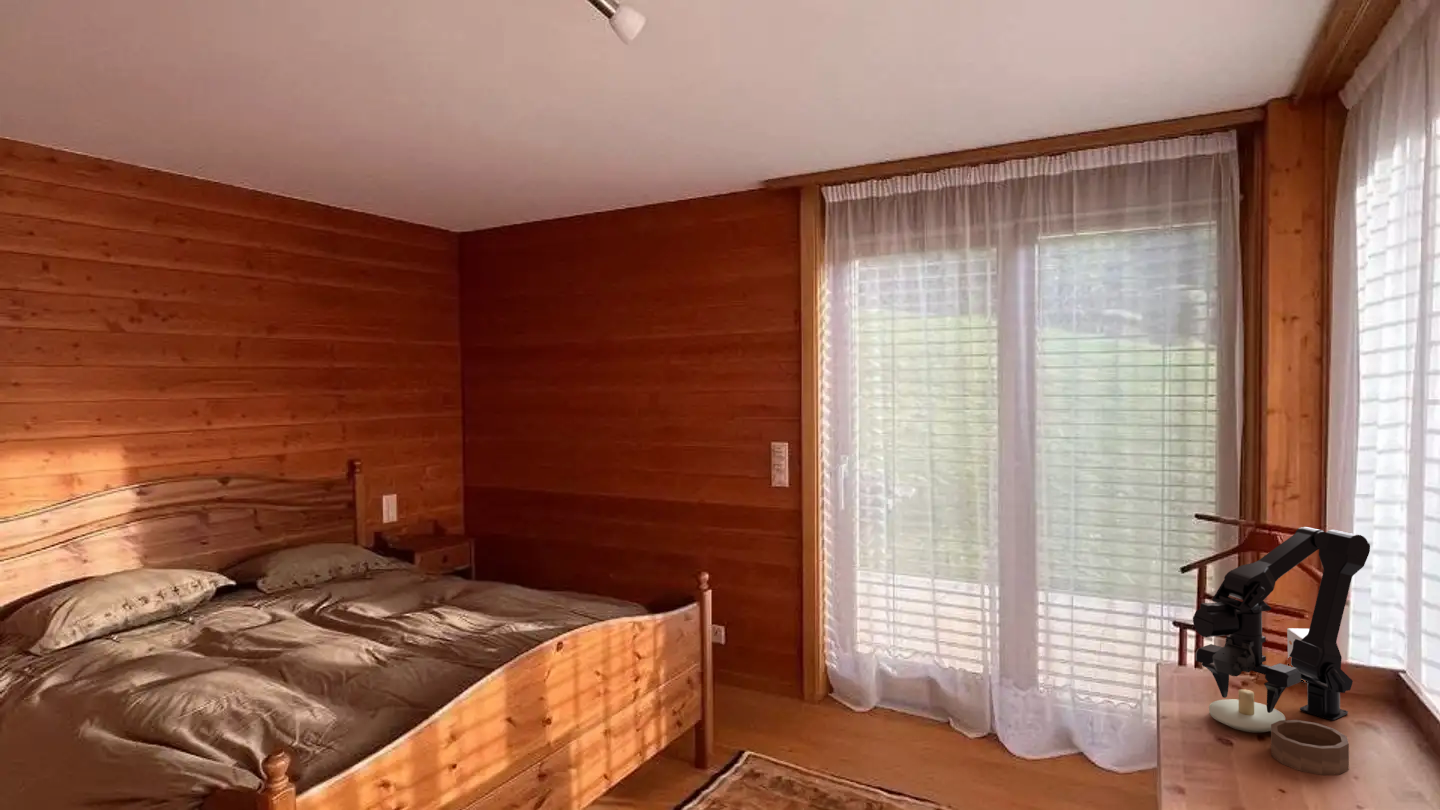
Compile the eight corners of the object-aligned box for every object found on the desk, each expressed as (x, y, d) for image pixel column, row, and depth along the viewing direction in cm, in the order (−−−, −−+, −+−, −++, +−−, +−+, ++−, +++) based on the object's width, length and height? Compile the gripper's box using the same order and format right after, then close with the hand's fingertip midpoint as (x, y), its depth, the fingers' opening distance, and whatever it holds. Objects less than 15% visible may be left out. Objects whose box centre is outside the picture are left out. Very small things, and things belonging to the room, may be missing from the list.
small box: (1330, 683, 195) (1329, 639, 195) (1303, 683, 196) (1302, 638, 196) (1313, 670, 203) (1312, 628, 202) (1287, 670, 204) (1286, 627, 204)
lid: (1232, 705, 186) (1232, 674, 186) (1299, 727, 174) (1298, 695, 174) (1195, 720, 180) (1195, 688, 180) (1261, 744, 168) (1261, 710, 168)
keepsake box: (1292, 739, 169) (1292, 715, 169) (1360, 763, 159) (1360, 737, 158) (1258, 755, 164) (1258, 730, 163) (1327, 781, 153) (1326, 754, 153)
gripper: (1179, 627, 180) (1180, 698, 181) (1271, 652, 164) (1271, 730, 165) (1210, 617, 186) (1211, 687, 187) (1302, 641, 169) (1302, 716, 170)
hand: (1246, 704), depth 177 cm, fingers open, 9 cm apart
